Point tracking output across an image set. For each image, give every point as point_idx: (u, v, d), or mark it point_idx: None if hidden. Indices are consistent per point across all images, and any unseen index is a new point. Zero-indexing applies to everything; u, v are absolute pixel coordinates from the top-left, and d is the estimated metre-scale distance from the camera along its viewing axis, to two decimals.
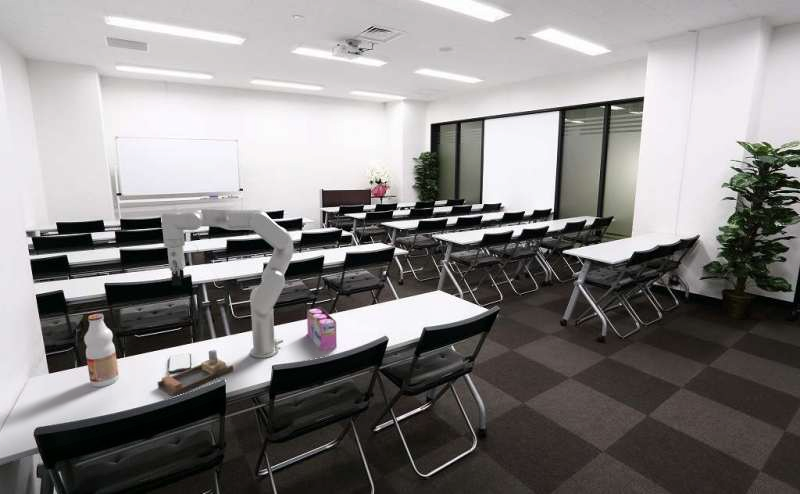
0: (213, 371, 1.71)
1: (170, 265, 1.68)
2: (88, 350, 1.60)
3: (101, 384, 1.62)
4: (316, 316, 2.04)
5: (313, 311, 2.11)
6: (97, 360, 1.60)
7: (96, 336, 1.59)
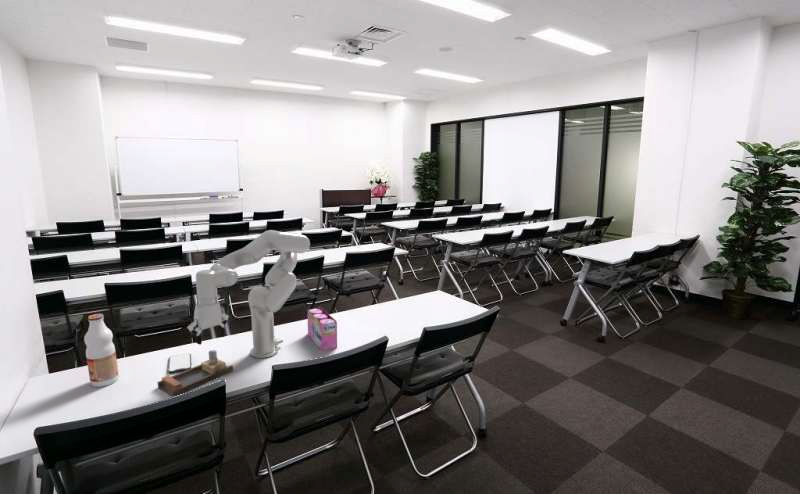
0: (213, 371, 1.71)
1: None
2: (88, 351, 1.60)
3: (101, 384, 1.62)
4: (316, 316, 2.04)
5: (313, 311, 2.11)
6: (97, 360, 1.60)
7: (96, 336, 1.59)
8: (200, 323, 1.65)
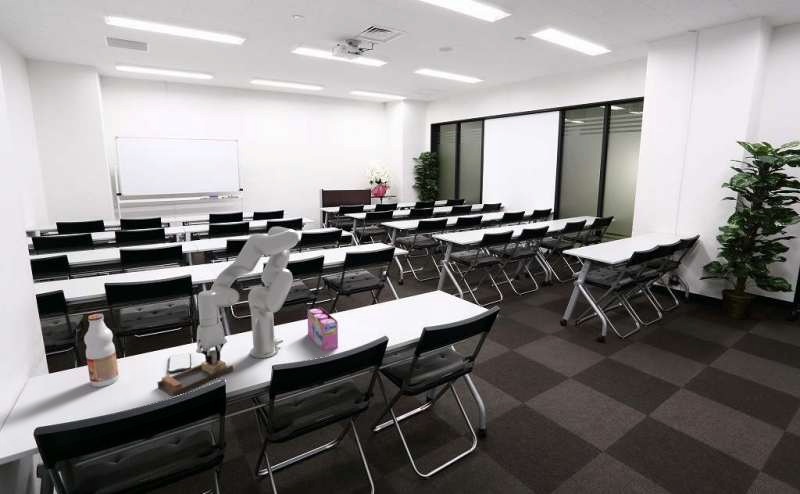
0: (213, 371, 1.71)
1: None
2: (88, 350, 1.60)
3: (101, 384, 1.62)
4: (317, 316, 2.04)
5: (313, 311, 2.11)
6: (97, 360, 1.60)
7: (96, 336, 1.59)
8: (203, 344, 1.68)
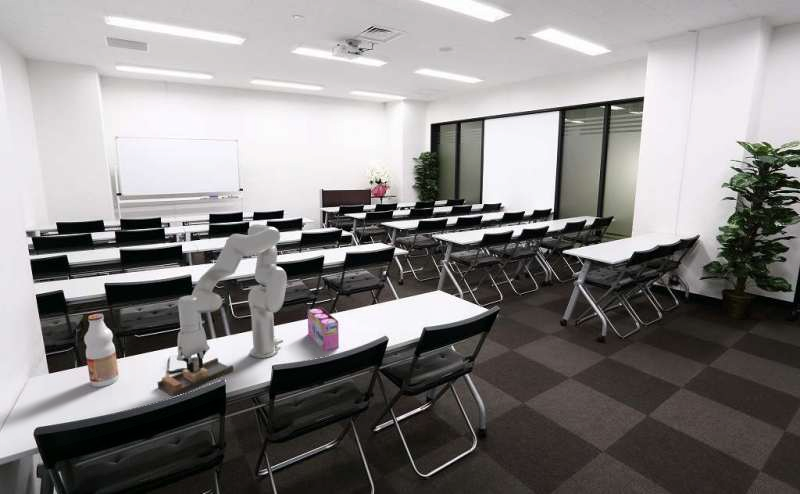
0: (195, 379, 1.64)
1: (206, 343, 1.69)
2: (88, 350, 1.60)
3: (101, 384, 1.62)
4: (317, 316, 2.04)
5: (314, 311, 2.11)
6: (97, 360, 1.60)
7: (96, 336, 1.59)
8: (184, 351, 1.61)
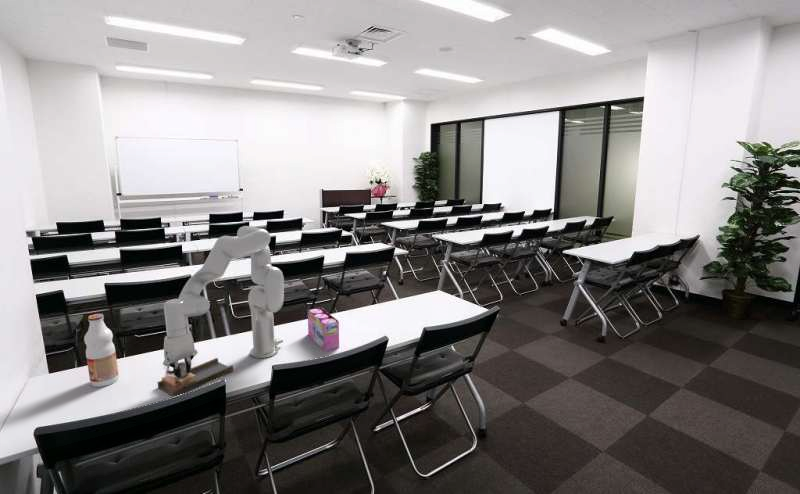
0: None
1: None
2: (88, 350, 1.60)
3: (101, 384, 1.62)
4: (318, 316, 2.04)
5: (314, 311, 2.11)
6: (97, 360, 1.60)
7: (96, 336, 1.59)
8: (170, 356, 1.57)
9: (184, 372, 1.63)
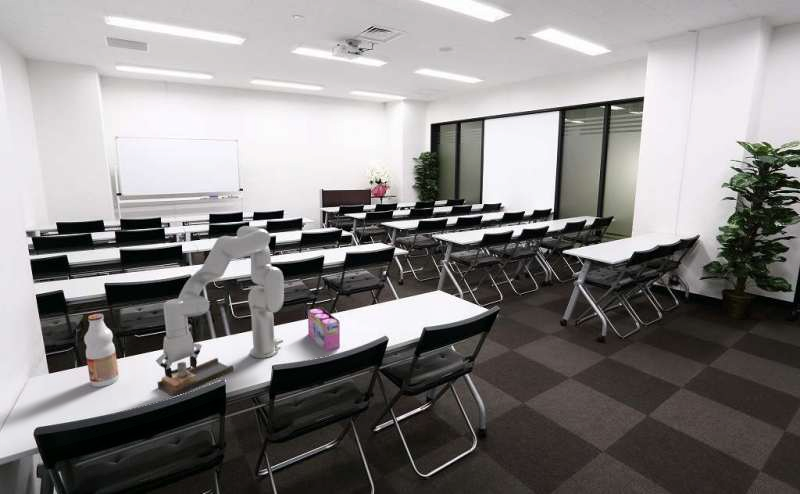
0: (182, 385, 1.60)
1: (193, 348, 1.65)
2: (88, 351, 1.60)
3: (101, 384, 1.62)
4: (318, 316, 2.04)
5: (314, 311, 2.10)
6: (97, 360, 1.60)
7: (96, 336, 1.59)
8: (169, 356, 1.57)
9: (184, 372, 1.63)
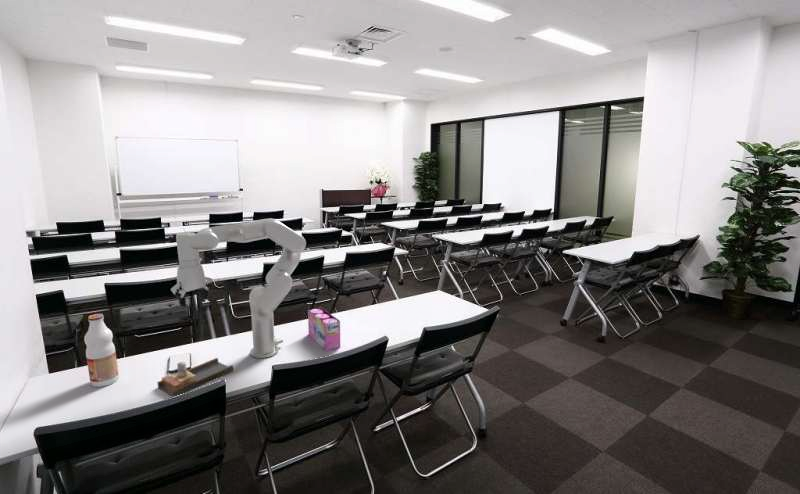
0: (182, 385, 1.60)
1: None
2: (88, 350, 1.60)
3: (101, 384, 1.62)
4: (318, 316, 2.04)
5: (314, 311, 2.10)
6: (97, 360, 1.60)
7: (96, 336, 1.59)
8: (183, 285, 1.67)
9: (184, 372, 1.63)
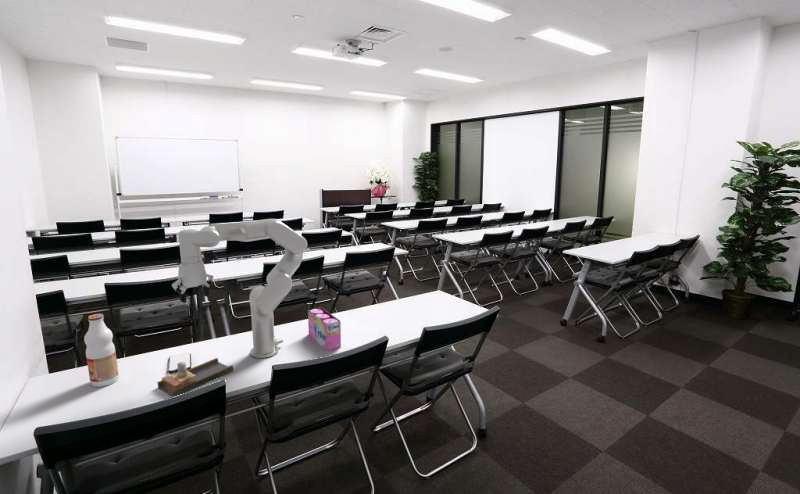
0: (182, 385, 1.60)
1: None
2: (88, 351, 1.60)
3: (101, 384, 1.62)
4: (319, 316, 2.04)
5: (314, 311, 2.10)
6: (97, 360, 1.60)
7: (96, 336, 1.59)
8: (184, 281, 1.68)
9: (184, 372, 1.63)
